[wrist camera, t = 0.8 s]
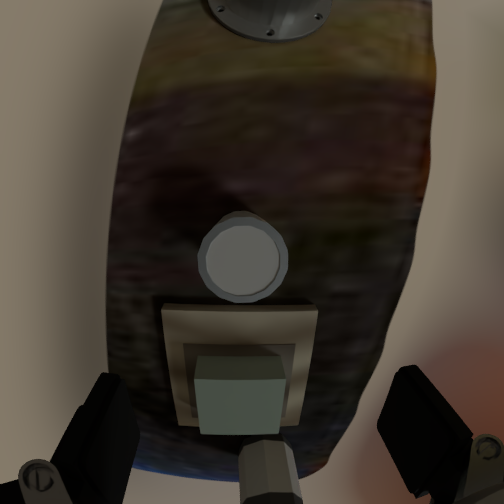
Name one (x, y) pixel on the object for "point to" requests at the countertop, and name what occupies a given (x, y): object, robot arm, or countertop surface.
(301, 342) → the board
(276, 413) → the sage block
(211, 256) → the grey tapered cup
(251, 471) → the wine bottle
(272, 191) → the countertop surface
